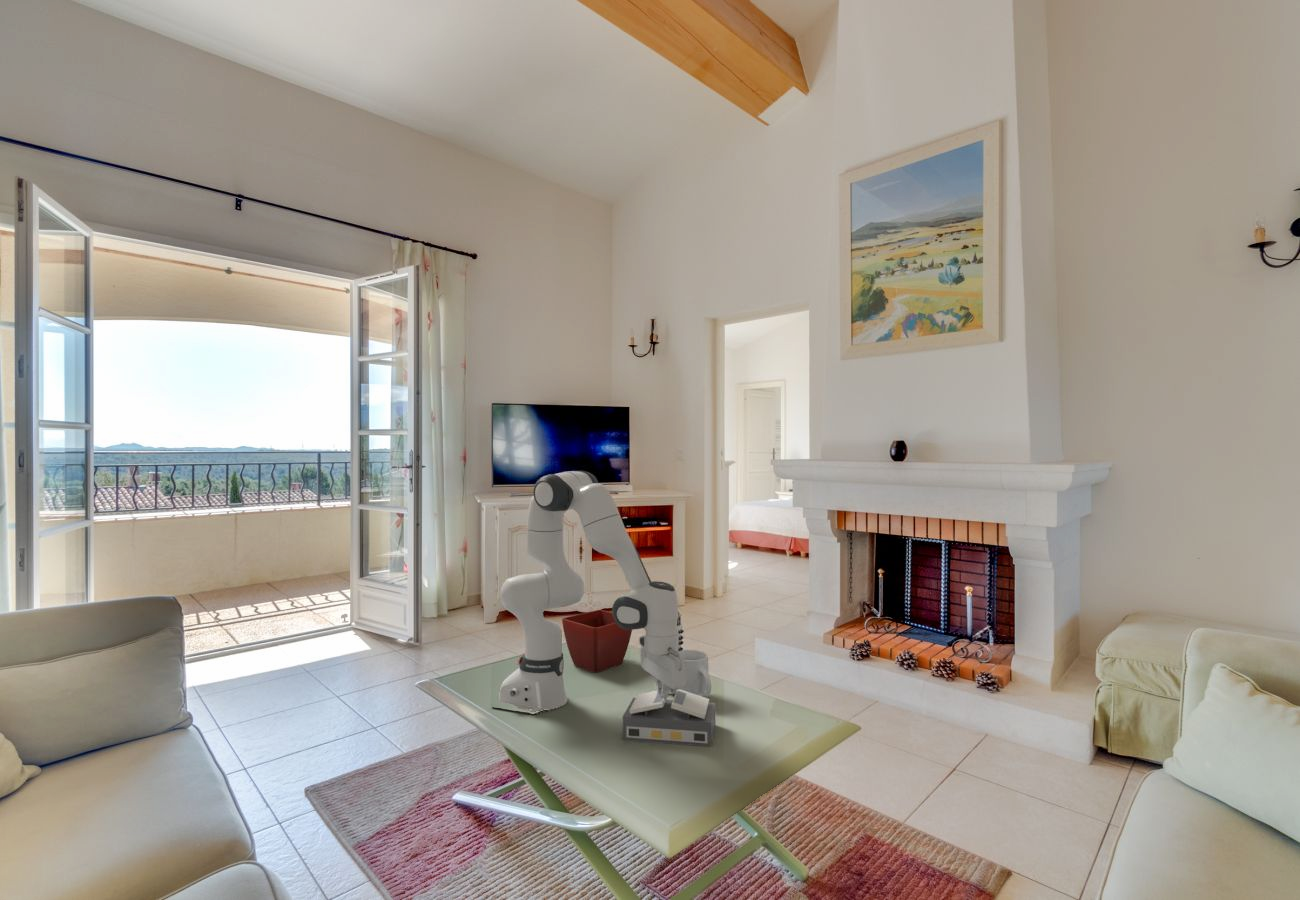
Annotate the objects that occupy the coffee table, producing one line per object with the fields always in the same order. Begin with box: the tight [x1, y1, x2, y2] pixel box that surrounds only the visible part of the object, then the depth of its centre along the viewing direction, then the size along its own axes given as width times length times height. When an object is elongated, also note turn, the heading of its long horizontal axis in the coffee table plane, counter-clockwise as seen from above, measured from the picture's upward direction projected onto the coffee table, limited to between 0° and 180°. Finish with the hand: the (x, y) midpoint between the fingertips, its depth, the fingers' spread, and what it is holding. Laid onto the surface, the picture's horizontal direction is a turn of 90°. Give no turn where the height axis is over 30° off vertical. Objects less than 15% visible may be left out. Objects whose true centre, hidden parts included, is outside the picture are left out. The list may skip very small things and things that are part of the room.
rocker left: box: [629, 689, 670, 714], centre depth 161 cm, size 9×11×1 cm
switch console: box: [622, 697, 716, 748], centre depth 160 cm, size 23×13×7 cm, turn 79°
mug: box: [676, 649, 712, 698], centre depth 182 cm, size 15×11×13 cm
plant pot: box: [561, 609, 633, 673], centre depth 216 cm, size 19×19×17 cm
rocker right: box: [671, 689, 710, 719], centre depth 159 cm, size 9×11×1 cm
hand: (662, 695), depth 160 cm, fingers closed, pressing on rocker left
